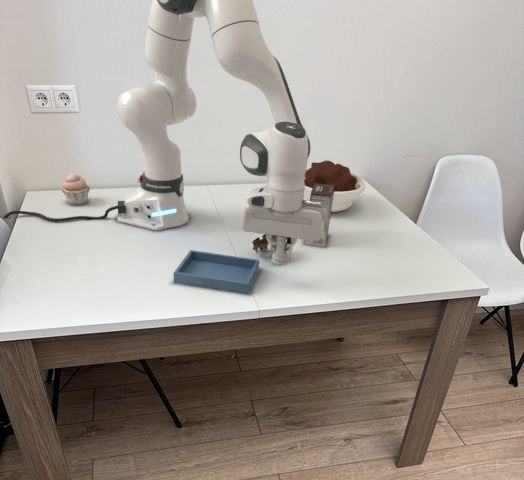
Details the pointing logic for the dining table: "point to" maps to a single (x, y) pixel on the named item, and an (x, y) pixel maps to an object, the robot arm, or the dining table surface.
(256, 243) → the broken clay pot
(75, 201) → the cupcake
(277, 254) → the rook chess piece
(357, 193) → the bowl of brown lumps
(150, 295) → the dining table surface
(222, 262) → the tray
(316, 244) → the coffee box
